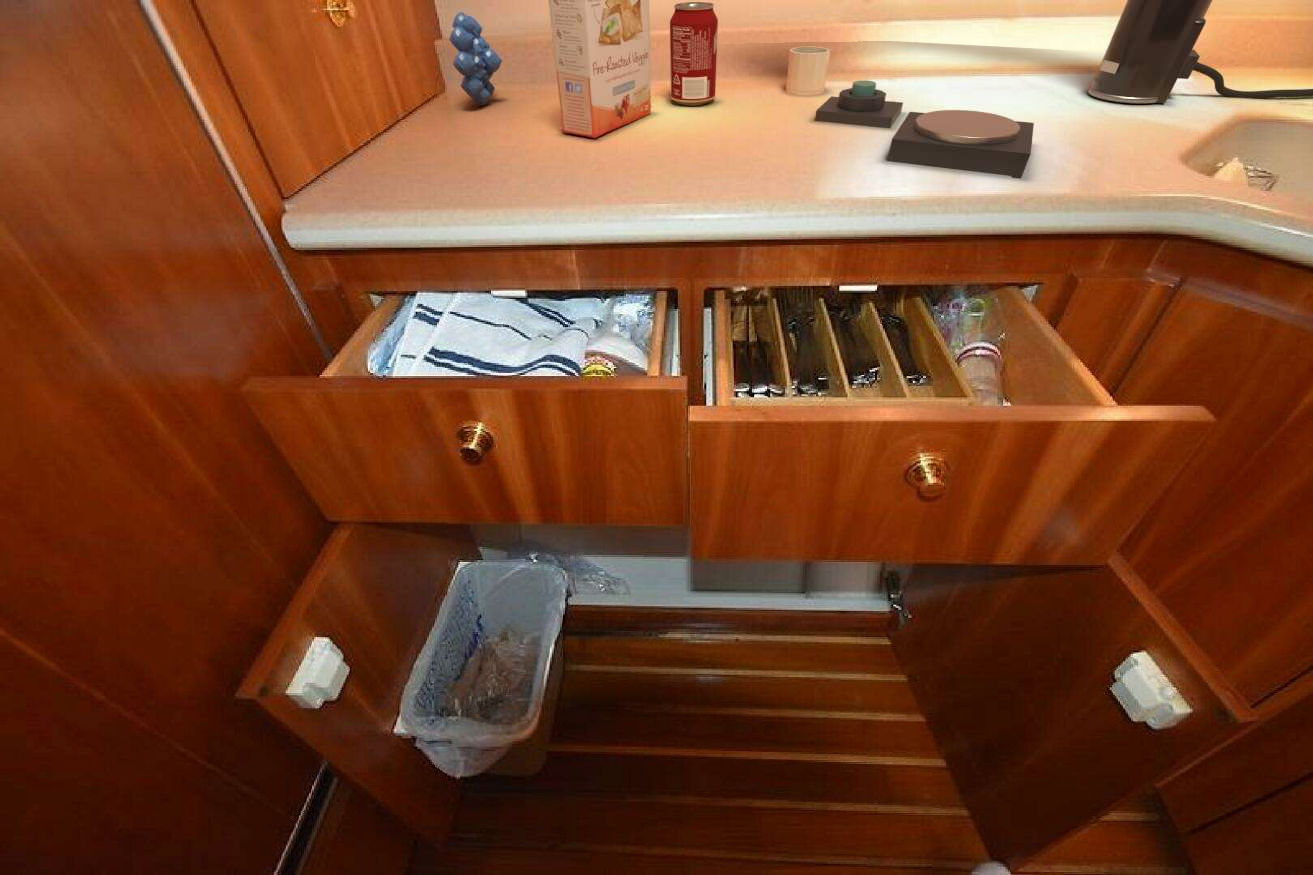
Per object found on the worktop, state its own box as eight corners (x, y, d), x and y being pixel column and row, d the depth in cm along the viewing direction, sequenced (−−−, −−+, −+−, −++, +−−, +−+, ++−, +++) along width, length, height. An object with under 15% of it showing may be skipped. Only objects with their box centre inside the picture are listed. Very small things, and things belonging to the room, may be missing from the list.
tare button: (875, 94, 79) (878, 81, 78) (871, 99, 77) (873, 86, 76) (853, 92, 80) (855, 79, 79) (848, 97, 78) (850, 84, 77)
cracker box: (597, 140, 76) (579, -73, 62) (561, 134, 79) (535, -72, 64) (654, 114, 85) (650, -78, 71) (620, 109, 87) (609, -78, 73)
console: (900, 113, 82) (906, 89, 80) (890, 129, 76) (895, 103, 74) (829, 107, 85) (833, 83, 83) (814, 121, 80) (818, 96, 78)
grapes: (500, 115, 86) (481, 16, 78) (455, 116, 87) (432, 17, 79) (518, 95, 95) (503, 4, 87) (477, 96, 95) (458, 5, 87)
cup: (828, 88, 93) (834, 47, 89) (818, 97, 89) (824, 54, 86) (792, 85, 95) (796, 45, 92) (780, 93, 91) (785, 52, 88)
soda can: (711, 107, 86) (715, 7, 78) (666, 106, 87) (665, 8, 79) (717, 96, 91) (721, 1, 83) (675, 95, 92) (674, 1, 84)
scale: (1025, 145, 70) (1036, 115, 68) (1021, 178, 62) (1034, 145, 60) (904, 133, 75) (911, 104, 73) (886, 161, 67) (893, 130, 65)
